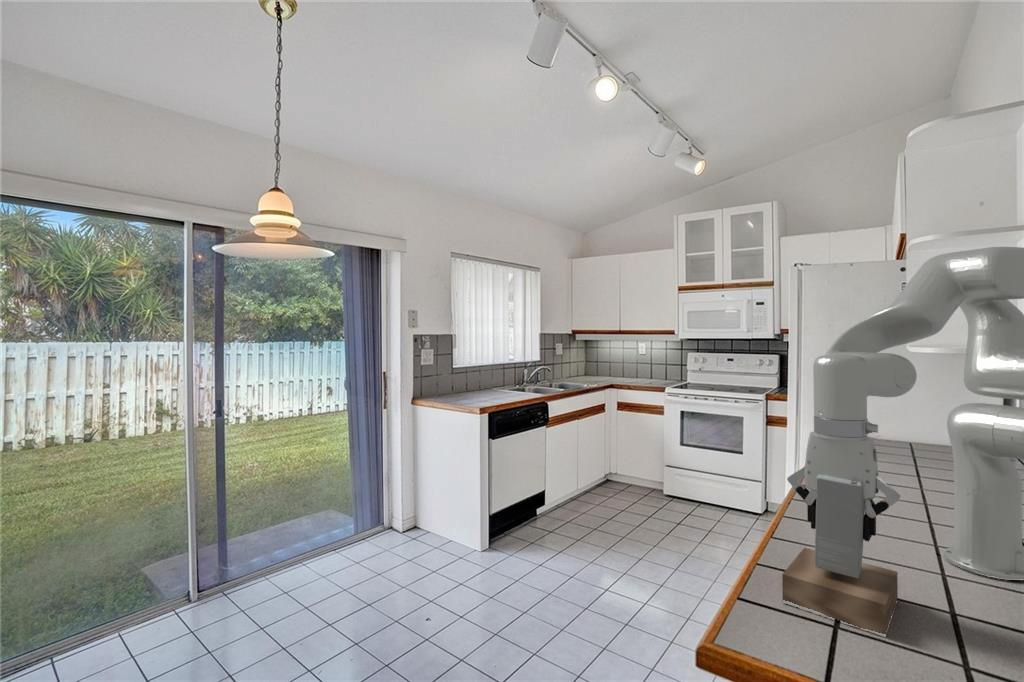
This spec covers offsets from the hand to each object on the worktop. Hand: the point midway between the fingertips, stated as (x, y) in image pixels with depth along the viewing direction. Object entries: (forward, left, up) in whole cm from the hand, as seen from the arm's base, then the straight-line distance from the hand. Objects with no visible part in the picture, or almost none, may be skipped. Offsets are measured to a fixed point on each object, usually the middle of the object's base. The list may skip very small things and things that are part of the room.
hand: (840, 531), depth 83 cm
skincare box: (0, 0, -6) cm, 6 cm away
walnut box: (0, 0, -12) cm, 12 cm away
